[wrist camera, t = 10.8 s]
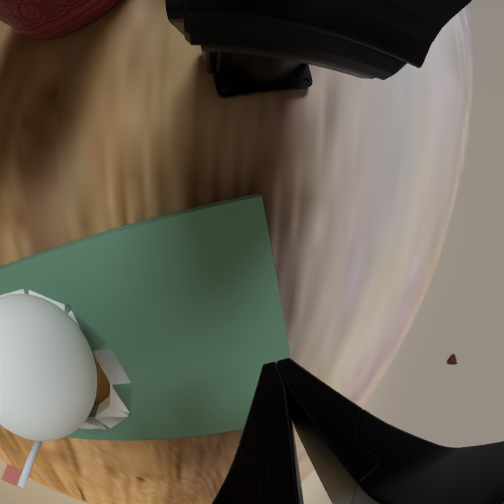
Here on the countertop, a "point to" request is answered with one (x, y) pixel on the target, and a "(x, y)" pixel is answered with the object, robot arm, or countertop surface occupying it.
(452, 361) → the poop emoji
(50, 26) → the canister
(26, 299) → the ball
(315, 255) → the countertop surface
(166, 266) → the putting deck
